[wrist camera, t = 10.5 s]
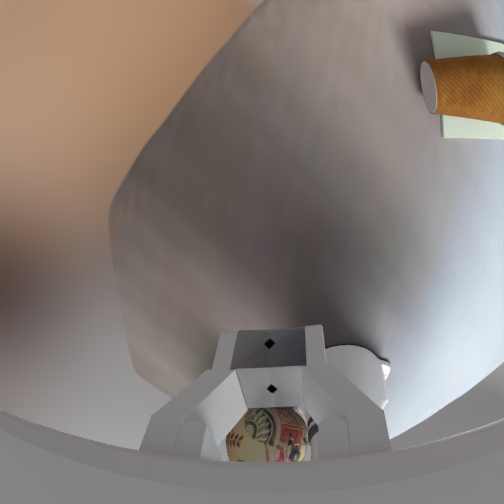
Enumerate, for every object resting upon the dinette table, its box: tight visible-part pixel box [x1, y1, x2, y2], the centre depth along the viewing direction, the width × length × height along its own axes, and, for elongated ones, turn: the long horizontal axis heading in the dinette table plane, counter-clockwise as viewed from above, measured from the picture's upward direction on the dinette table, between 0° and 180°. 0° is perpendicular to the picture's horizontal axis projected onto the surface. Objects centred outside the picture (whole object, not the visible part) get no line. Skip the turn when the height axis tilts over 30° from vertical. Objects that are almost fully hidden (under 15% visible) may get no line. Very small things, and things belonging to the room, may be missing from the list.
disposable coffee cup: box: [420, 51, 504, 126], centre depth 25 cm, size 10×10×12 cm
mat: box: [430, 31, 504, 140], centre depth 28 cm, size 14×16×1 cm
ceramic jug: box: [226, 407, 308, 462], centre depth 46 cm, size 17×15×30 cm
